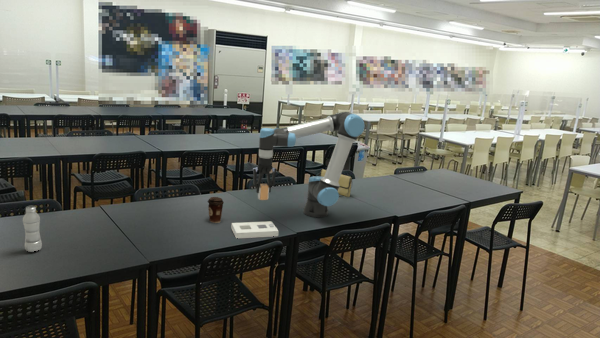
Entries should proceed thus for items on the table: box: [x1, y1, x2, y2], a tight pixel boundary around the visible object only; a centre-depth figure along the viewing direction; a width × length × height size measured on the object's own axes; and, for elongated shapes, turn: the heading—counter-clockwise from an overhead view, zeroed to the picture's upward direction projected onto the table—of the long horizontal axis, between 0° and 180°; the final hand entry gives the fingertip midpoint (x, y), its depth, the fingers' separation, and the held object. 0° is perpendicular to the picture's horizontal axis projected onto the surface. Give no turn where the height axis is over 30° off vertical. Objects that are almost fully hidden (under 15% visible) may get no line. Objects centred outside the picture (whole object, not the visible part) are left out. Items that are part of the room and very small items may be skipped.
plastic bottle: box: [22, 205, 43, 253], centre depth 188 cm, size 6×7×20 cm
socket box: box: [230, 221, 279, 239], centre depth 230 cm, size 22×14×4 cm, turn 109°
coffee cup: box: [207, 196, 224, 224], centre depth 241 cm, size 9×8×13 cm
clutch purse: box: [317, 168, 353, 198], centre depth 312 cm, size 30×7×15 cm, turn 48°
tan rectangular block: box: [259, 183, 269, 201], centre depth 241 cm, size 4×4×8 cm
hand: (263, 198), depth 242 cm, fingers closed on tan rectangular block, 4 cm apart
